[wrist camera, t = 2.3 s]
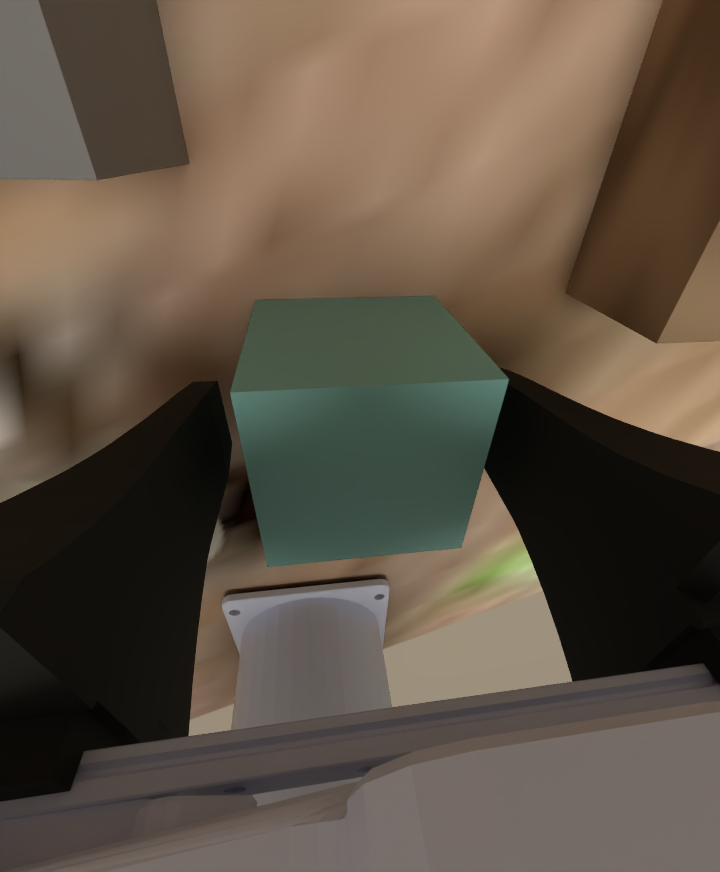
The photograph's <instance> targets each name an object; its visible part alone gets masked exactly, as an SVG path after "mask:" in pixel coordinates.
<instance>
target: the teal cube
mask: <svg viewBox="0 0 720 872" xmlns="http://www.w3.org/2000/svg"><path fill="white" fill-rule="evenodd" d="M508 381H509V378H508V377H507V376H506V375H505V374H504V373H503V372H502V371H501V369H500V368H499V367H498V366H497V365H496V364H495V363H494V362H493V361H492V359H491V358H490V357H489V356H488V355H487V354H486V353H485V352H484V350H483V349H482V348H481V347H480V346H479V345H478V344H477V343H476V342H475V340H474V339H473V338H472V337H471V336H470V335H469V334H468V333H467V332H466V330H465V329H464V328H463V327H462V326H461V325H460V324H459V323H458V321H457V320H456V319H455V318H454V317H453V316H452V315H451V314H450V313H449V311H448V310H447V309H446V308H445V307H444V306H443V305H442V304H441V302H440V301H439V300H438V299H437V298H436V297H435V296H403V297H359V298H314V299H269V300H255V304H254V307H253V311H252V314H251V318H250V322H249V325H248V329H247V333H246V336H245V340H244V343H243V347H242V351H241V354H240V358H239V362H238V365H237V369H236V372H235V376H234V380H233V383H232V387H231V391H230V395H231V400H232V405H233V409H234V414H235V419H236V423H237V428H238V432H239V437H240V442H241V446H242V451H243V456H244V460H245V465H246V469H247V474H248V479H249V483H250V488H251V493H252V497H253V502H254V507H255V511H256V516H257V520H258V525H259V530H260V534H261V539H262V544H263V548H264V553H265V557H266V562H267V567H271V566H281V565H291V564H301V563H311V562H321V561H332V560H342V559H352V558H362V557H372V556H382V555H392V554H403V553H413V552H423V551H433V550H443V549H453V548H461V547H462V543H463V540H464V536H465V533H466V529H467V526H468V522H469V519H470V515H471V512H472V508H473V505H474V501H475V498H476V494H477V490H478V487H479V483H480V480H481V476H482V473H483V469H484V466H485V462H486V459H487V455H488V452H489V448H490V445H491V441H492V438H493V434H494V431H495V427H496V424H497V420H498V417H499V413H500V410H501V406H502V403H503V399H504V395H505V392H506V388H507V385H508Z"/></svg>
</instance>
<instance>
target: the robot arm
mask: <svg viewBox="0 0 720 872" xmlns="http://www.w3.org/2000/svg"><path fill="white" fill-rule="evenodd" d="M500 369H501V371H502V372H503V373H504V374H505V375H506V376H507V377H508V378H509V381H508V385H507V388H506V392H505V395H504V399H503V403H502V406H501V410H500V413H499V417H498V420H497V424H496V427H495V431H494V434H493V438H492V441H491V445H490V448H489V452H488V455H487V459H486V462H485V466H484V468H485V470H486V472H487V474H488V475H489V477H490V479H491V481H492V483H493V484H494V486H495V488H496V490H497V491H498V493H499V495H500V497H501V498H502V500H503V502H504V504H505V506H506V507H507V509H508V511H509V513H510V514H511V516H512V518H513V520H514V522H515V524H516V526H517V528H518V530H519V532H520V535H521V537H522V539H523V542H524V544H525V546H526V549H527V551H528V554H529V556H530V558H531V561H532V563H533V566H534V568H535V571H536V574H537V576H538V579H539V581H540V584H541V587H542V589H543V592H544V594H545V597H546V600H547V603H548V606H549V609H550V611H551V615H552V617H553V620H554V623H555V626H556V629H557V632H558V635H559V638H560V641H561V645H562V648H563V651H564V654H565V657H566V661H567V664H568V668H569V671H570V674H571V677H572V681H573V682H567V683H560V684H553V685H546V686H540V687H532V688H525V689H519V690H511V691H504V692H497V693H490V694H483V695H476V696H469V697H462V698H455V699H448V700H440V701H433V702H426V703H420V704H412V705H406V706H399V707H392V705H391V698H390V692H389V686H388V680H387V674H386V668H385V663H384V656H383V642H384V634H385V625H386V616H387V608H388V599H389V591H390V589H389V584H388V581H386V580H384V579H373V580H364V581H354V582H344V583H335V584H325V585H316V586H306V587H297V588H287V589H277V590H268V591H258V592H249V593H239V594H231V595H228V596H226V597H224V598H223V601H222V609H223V612H224V615H225V617H226V620H227V623H228V625H229V628H230V631H231V633H232V636H233V639H234V641H235V644H236V647H237V649H238V652H239V654H240V657H239V666H238V675H237V683H236V692H235V701H234V710H233V718H232V727H231V730H230V731H222V732H216V733H208V734H201V735H195V736H188V735H189V721H190V709H191V696H192V684H193V673H194V663H195V654H196V644H197V634H198V626H199V618H200V610H201V601H202V594H203V587H204V580H205V573H206V566H207V559H208V554H209V550H210V544H211V541H212V537H213V533H214V529H215V526H216V522H217V518H218V514H219V510H220V507H221V503H222V499H223V495H224V491H225V487H226V483H227V479H228V475H229V468H230V459H231V448H232V441H231V436H230V432H229V428H228V423H227V419H226V415H225V411H224V406H223V402H222V398H221V394H220V389H219V385H218V381H206V382H193V383H191V384H189V385H188V386H187V387H185V388H184V389H183V390H181V391H180V392H179V393H177V394H176V395H175V396H174V397H172V398H171V399H170V400H169V401H167V402H166V403H165V404H164V405H162V406H161V407H160V408H158V409H157V410H156V411H155V412H153V413H152V414H151V415H150V416H148V417H147V418H146V419H144V420H143V421H142V422H140V423H139V424H138V425H136V426H135V427H133V428H132V429H130V430H129V431H128V432H126V433H125V434H123V435H122V436H121V437H119V438H118V439H116V440H115V441H114V442H112V443H111V444H109V445H108V446H106V447H105V448H103V449H101V450H100V451H98V452H97V453H95V454H93V455H92V456H90V457H88V458H87V459H85V460H83V461H82V462H80V463H78V464H76V465H75V466H73V467H71V468H70V469H68V470H66V471H64V472H62V473H60V474H59V475H57V476H55V477H53V478H51V479H49V480H47V481H44V482H42V483H40V484H38V485H36V486H34V487H33V488H30V489H28V490H26V491H24V492H22V493H20V494H19V495H16V496H14V497H12V498H10V499H8V500H6V501H4V502H1V503H0V872H720V452H718V451H714V450H710V449H706V448H703V447H699V446H696V445H692V444H689V443H685V442H682V441H678V440H675V439H672V438H668V437H665V436H662V435H659V434H656V433H653V432H650V431H647V430H644V429H642V428H639V427H636V426H633V425H630V424H627V423H625V422H622V421H620V420H617V419H614V418H612V417H609V416H607V415H605V414H602V413H600V412H598V411H595V410H593V409H591V408H588V407H586V406H584V405H582V404H580V403H577V402H575V401H573V400H571V399H569V398H567V397H565V396H563V395H560V394H558V393H556V392H554V391H552V390H550V389H548V388H546V387H544V386H542V385H540V384H538V383H536V382H534V381H532V380H530V379H527V378H525V377H523V376H521V375H519V374H516V373H514V372H512V371H509V370H506V369H503V368H500Z"/></svg>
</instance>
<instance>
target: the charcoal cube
mask: <svg viewBox="0 0 720 872" xmlns="http://www.w3.org/2000/svg"><path fill="white" fill-rule="evenodd" d="M185 164H189V160H188V155H187V150H186V145H185V140H184V135H183V130H182V125H181V120H180V115H179V111H178V106H177V101H176V96H175V91H174V86H173V81H172V76H171V71H170V66H169V61H168V56H167V52H166V47H165V42H164V37H163V32H162V27H161V22H160V17H159V12H158V7H157V2H156V0H0V179H53V180H100V179H106V178H112V177H117V176H123V175H128V174H134V173H140V172H145V171H151V170H157V169H162V168H168V167H173V166H179V165H185Z"/></svg>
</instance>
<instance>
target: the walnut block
mask: <svg viewBox="0 0 720 872" xmlns="http://www.w3.org/2000/svg"><path fill="white" fill-rule="evenodd" d="M565 293H567V294H568V295H570V296H572V297H574V298H576V299H577V300H579V301H581V302H583V303H585V304H586V305H588V306H590V307H592V308H594V309H595V310H597V311H599V312H601V313H603V314H604V315H606V316H608V317H610V318H612V319H613V320H615V321H617V322H619V323H621V324H622V325H624V326H626V327H628V328H630V329H631V330H633V331H635V332H637V333H639V334H640V335H642V336H644V337H646V338H648V339H649V340H651V341H653V342H655V343H682V342H709V341H720V0H663V2H662V5H661V8H660V11H659V14H658V17H657V20H656V23H655V26H654V29H653V32H652V35H651V38H650V41H649V44H648V47H647V50H646V53H645V56H644V59H643V62H642V65H641V68H640V71H639V74H638V77H637V80H636V83H635V86H634V89H633V92H632V95H631V98H630V101H629V104H628V107H627V109H626V112H625V115H624V118H623V121H622V124H621V127H620V130H619V133H618V136H617V139H616V142H615V145H614V148H613V151H612V154H611V157H610V160H609V163H608V166H607V169H606V172H605V175H604V178H603V181H602V184H601V187H600V190H599V193H598V196H597V199H596V202H595V205H594V208H593V211H592V214H591V217H590V220H589V223H588V226H587V229H586V232H585V235H584V238H583V241H582V244H581V247H580V250H579V253H578V256H577V259H576V262H575V265H574V268H573V271H572V274H571V277H570V280H569V283H568V286H567V289H566V292H565Z"/></svg>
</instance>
